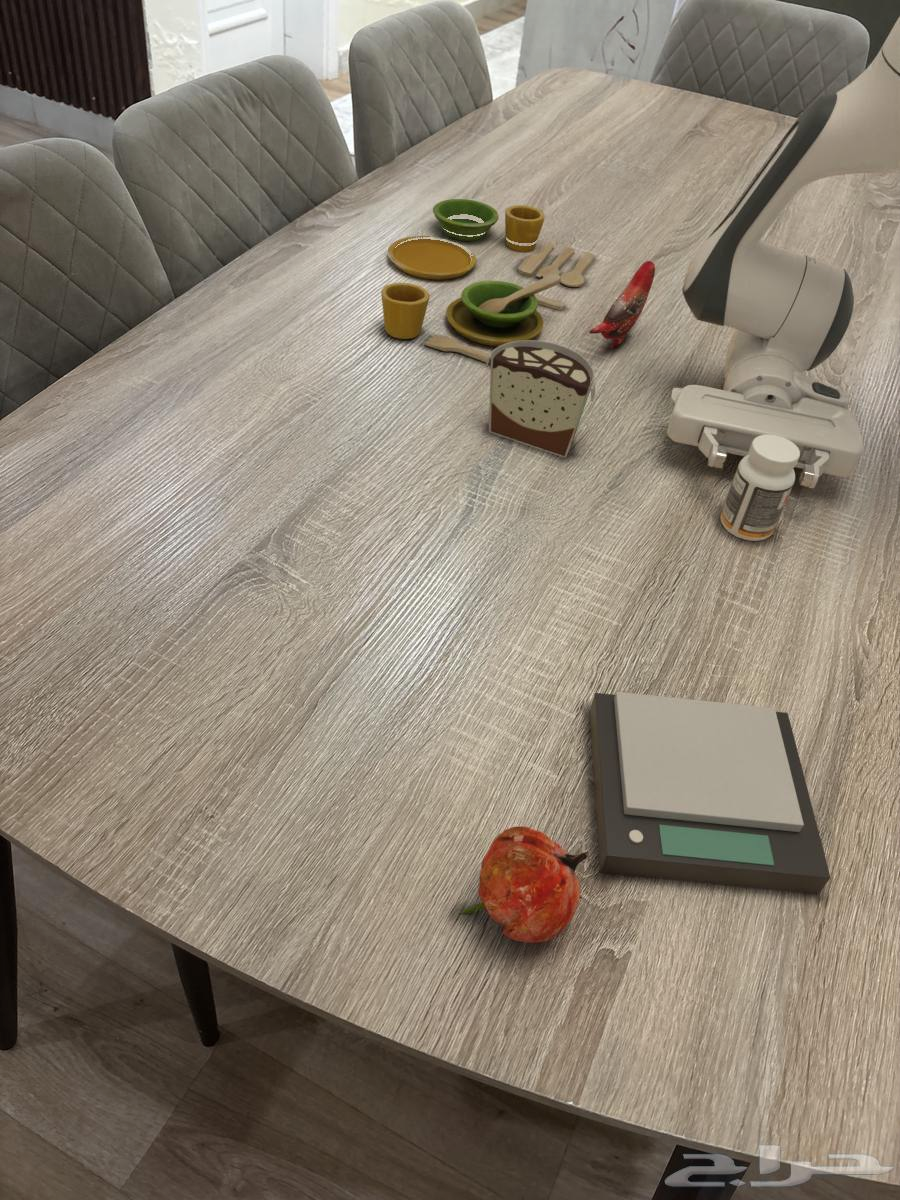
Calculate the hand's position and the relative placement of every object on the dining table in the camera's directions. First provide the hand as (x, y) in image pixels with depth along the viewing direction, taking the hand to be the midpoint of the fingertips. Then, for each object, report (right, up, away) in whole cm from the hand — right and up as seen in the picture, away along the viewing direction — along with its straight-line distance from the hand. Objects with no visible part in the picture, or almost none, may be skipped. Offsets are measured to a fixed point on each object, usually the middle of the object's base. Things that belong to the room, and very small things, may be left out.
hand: (763, 471), depth 96 cm
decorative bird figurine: (-11, +19, +26) cm, 35 cm away
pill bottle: (-1, -6, +2) cm, 6 cm away
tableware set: (-29, +31, +36) cm, 56 cm away
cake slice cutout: (-22, +6, +11) cm, 26 cm away
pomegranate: (-28, -35, -31) cm, 54 cm away
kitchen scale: (-13, -29, -23) cm, 39 cm away
